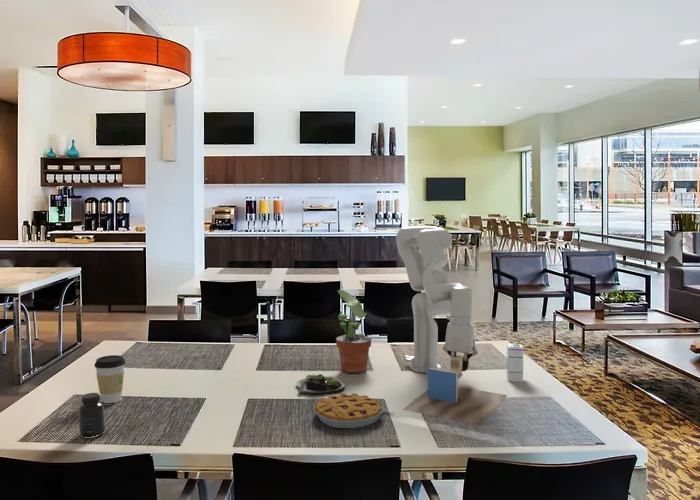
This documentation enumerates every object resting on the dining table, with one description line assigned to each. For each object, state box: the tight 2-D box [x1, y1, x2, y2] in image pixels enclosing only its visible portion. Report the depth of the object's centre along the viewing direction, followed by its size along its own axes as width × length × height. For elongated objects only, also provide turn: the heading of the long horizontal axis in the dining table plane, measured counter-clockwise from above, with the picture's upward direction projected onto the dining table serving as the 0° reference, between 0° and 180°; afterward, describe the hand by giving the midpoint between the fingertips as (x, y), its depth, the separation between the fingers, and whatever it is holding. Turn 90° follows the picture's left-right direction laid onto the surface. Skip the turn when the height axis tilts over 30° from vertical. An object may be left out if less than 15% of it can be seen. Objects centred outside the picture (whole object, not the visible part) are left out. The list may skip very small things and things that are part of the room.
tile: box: [427, 368, 459, 403], centre depth 190 cm, size 10×2×10 cm, turn 60°
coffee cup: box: [94, 354, 126, 403], centre depth 193 cm, size 10×10×15 cm
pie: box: [313, 393, 384, 429], centre depth 179 cm, size 22×22×5 cm
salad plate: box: [296, 373, 346, 396], centre depth 209 cm, size 19×18×5 cm
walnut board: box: [402, 386, 508, 426], centre depth 188 cm, size 26×30×2 cm
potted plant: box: [335, 289, 372, 374], centre depth 226 cm, size 16×15×35 cm
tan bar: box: [450, 352, 470, 380], centre depth 203 cm, size 18×6×5 cm, turn 150°
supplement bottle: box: [78, 392, 106, 437], centre depth 166 cm, size 7×7×12 cm
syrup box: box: [506, 343, 524, 383], centre depth 212 cm, size 6×6×14 cm
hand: (459, 369), depth 206 cm, fingers closed on tan bar, 3 cm apart
